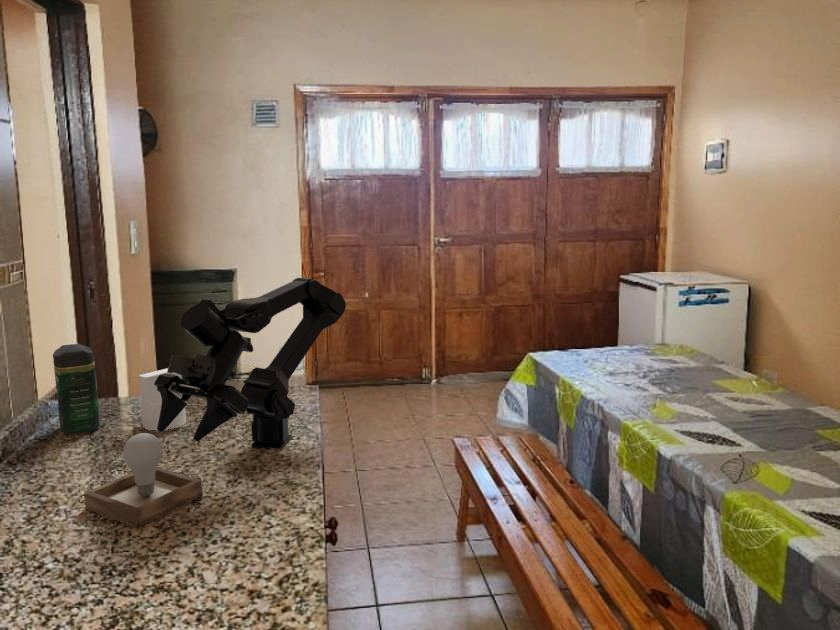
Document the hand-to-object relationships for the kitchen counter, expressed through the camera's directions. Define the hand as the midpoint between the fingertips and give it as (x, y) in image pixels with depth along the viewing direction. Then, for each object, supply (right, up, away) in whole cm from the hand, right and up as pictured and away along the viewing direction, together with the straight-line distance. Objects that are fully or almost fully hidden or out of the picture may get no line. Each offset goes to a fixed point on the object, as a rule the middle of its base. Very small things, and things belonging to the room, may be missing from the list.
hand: (176, 435), depth 118 cm
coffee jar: (-32, -4, +31) cm, 45 cm away
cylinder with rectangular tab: (-15, -3, +33) cm, 37 cm away
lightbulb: (-3, -10, -5) cm, 11 cm away
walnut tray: (-4, -10, -4) cm, 12 cm away
